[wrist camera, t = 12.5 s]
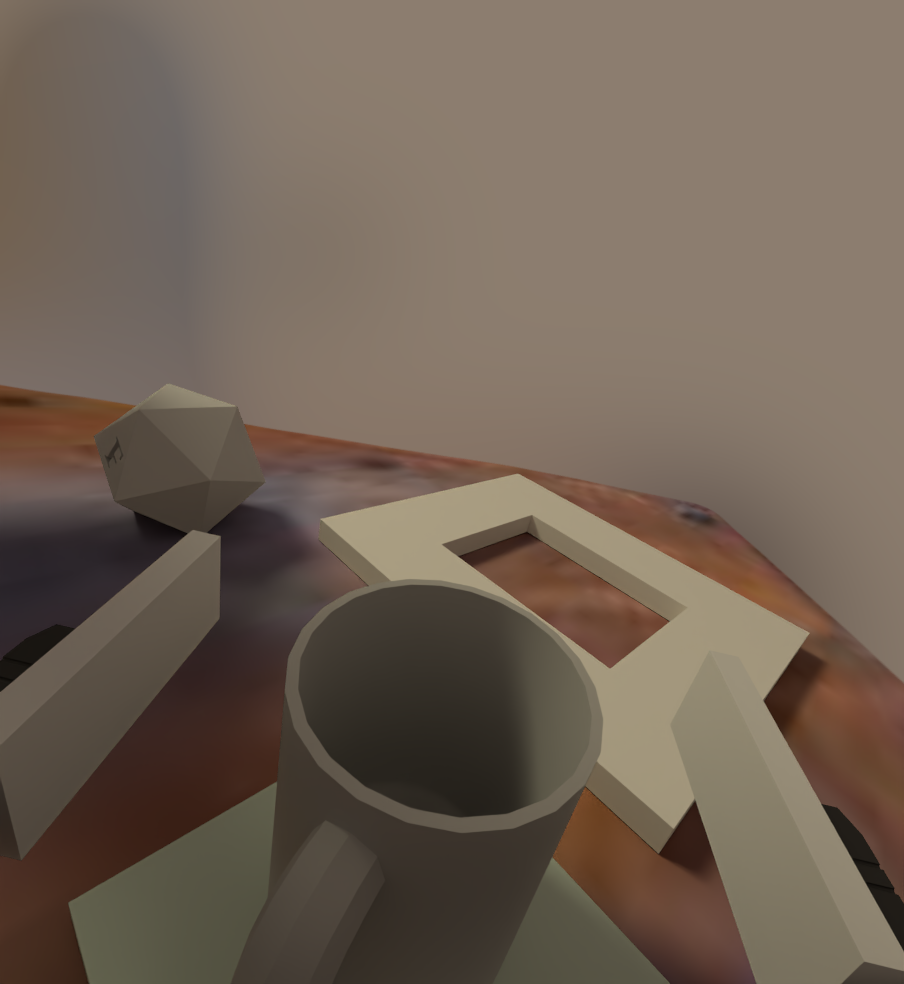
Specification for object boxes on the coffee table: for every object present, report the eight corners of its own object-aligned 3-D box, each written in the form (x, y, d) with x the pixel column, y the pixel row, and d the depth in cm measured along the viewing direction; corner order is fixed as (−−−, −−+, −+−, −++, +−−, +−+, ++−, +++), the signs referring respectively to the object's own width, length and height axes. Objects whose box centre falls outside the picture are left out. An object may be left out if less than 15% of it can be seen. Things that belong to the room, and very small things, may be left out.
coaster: (71, 919, 14) (68, 903, 14) (406, 717, 23) (409, 704, 22) (282, 1711, 7) (285, 1718, 7) (660, 997, 15) (670, 984, 15)
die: (140, 485, 37) (40, 394, 28) (256, 430, 39) (194, 330, 30) (173, 579, 33) (70, 506, 25) (299, 513, 35) (243, 425, 27)
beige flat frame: (318, 539, 34) (320, 519, 33) (513, 488, 47) (518, 473, 47) (658, 853, 19) (673, 828, 19) (798, 651, 33) (809, 633, 32)
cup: (538, 852, 18) (626, 653, 14) (373, 1357, 9) (484, 1196, 6) (362, 745, 20) (397, 550, 16) (101, 1069, 12) (49, 818, 8)
